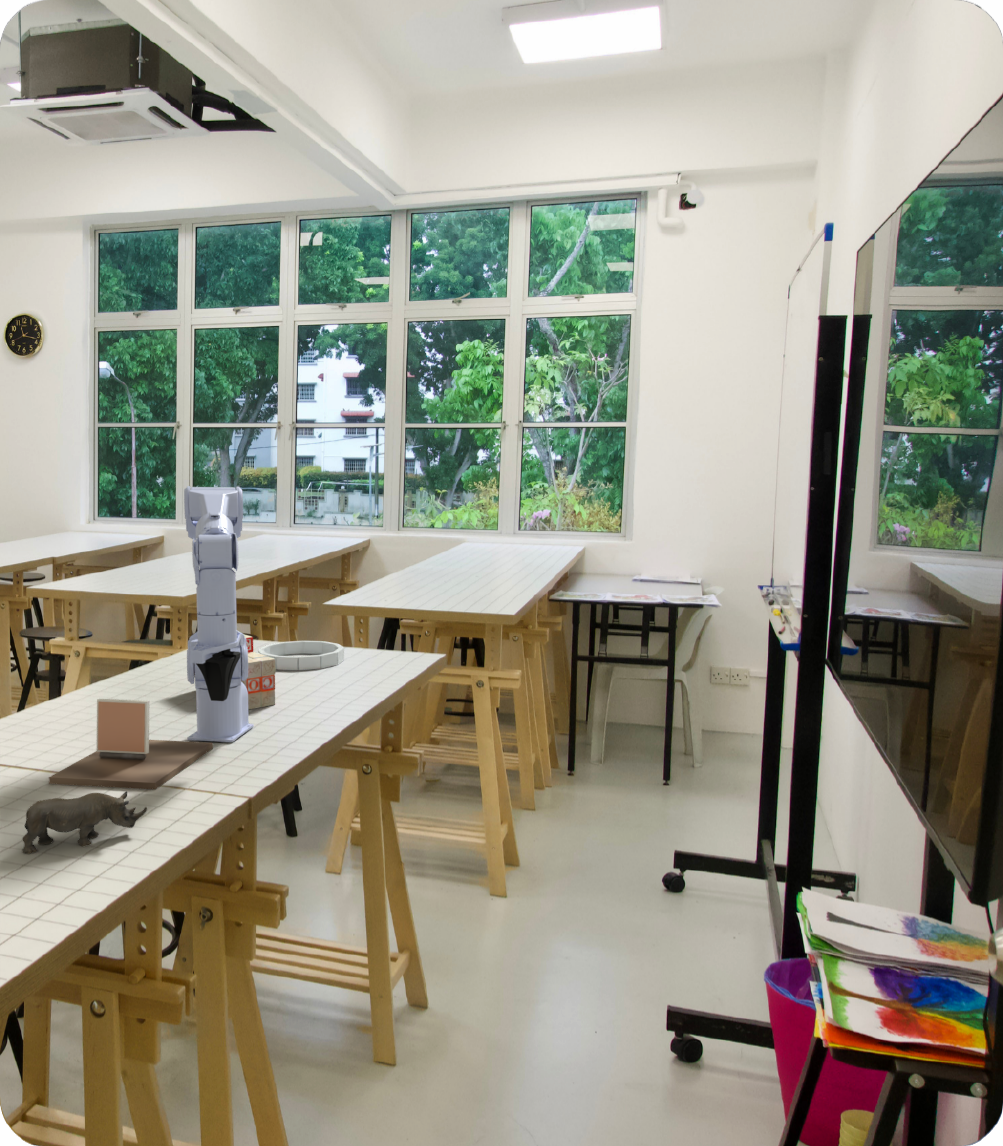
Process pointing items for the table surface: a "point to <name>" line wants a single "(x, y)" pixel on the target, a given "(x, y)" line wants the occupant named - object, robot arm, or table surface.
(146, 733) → the tile
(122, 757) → the board
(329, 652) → the shell dish rim
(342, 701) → the table surface
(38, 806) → the rhino figurine
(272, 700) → the stack of blocks
